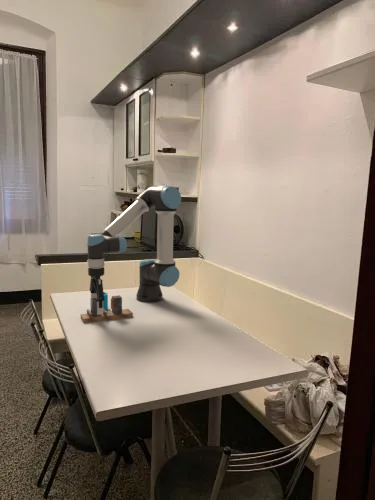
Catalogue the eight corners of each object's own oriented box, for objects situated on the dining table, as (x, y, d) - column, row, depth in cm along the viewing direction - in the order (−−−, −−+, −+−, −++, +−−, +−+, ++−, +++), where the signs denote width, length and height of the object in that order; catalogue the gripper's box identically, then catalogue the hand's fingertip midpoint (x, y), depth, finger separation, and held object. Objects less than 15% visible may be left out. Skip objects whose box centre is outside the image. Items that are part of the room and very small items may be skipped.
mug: (109, 310, 203) (109, 295, 202) (93, 312, 200) (93, 296, 198) (103, 304, 214) (103, 289, 213) (88, 305, 210) (88, 291, 209)
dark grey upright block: (100, 313, 192) (99, 297, 191) (102, 315, 188) (101, 299, 187) (90, 314, 190) (90, 298, 189) (92, 316, 186) (92, 300, 185)
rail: (128, 312, 200) (128, 293, 199) (132, 316, 194) (132, 297, 192) (80, 318, 190) (80, 298, 188) (83, 322, 183) (83, 302, 182)
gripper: (83, 262, 195) (84, 303, 198) (94, 272, 173) (94, 318, 176) (98, 261, 198) (98, 302, 202) (110, 271, 176) (111, 316, 180)
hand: (96, 310), depth 189 cm, fingers open, 13 cm apart
